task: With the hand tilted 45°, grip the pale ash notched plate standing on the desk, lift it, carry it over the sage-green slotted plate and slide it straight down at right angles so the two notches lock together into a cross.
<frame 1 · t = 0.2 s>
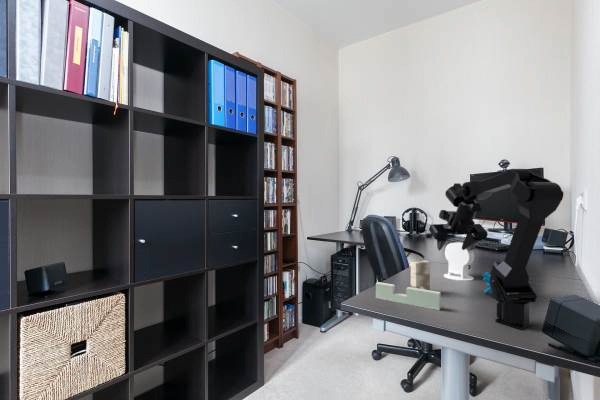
hand: (450, 249, 115), 15 cm above the table, tool tilted 35°, fingers open, 9 cm apart
white bracket stand: (458, 277, 133), on the table
sage slotted plate: (400, 301, 102), on the table
ash notched plate: (420, 292, 112), on the table
gear: (496, 296, 109), on the table
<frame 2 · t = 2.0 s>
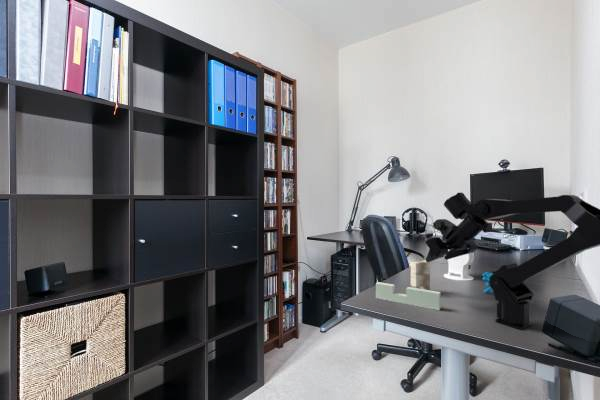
hand: (436, 259, 106), 13 cm above the table, tool tilted 45°, fingers open, 9 cm apart
nothing on the table moved.
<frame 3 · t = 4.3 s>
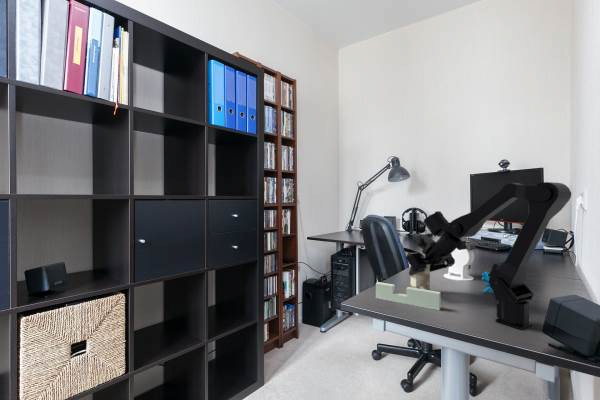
hand: (417, 273, 113), 7 cm above the table, tool tilted 45°, fingers closed on ash notched plate, 7 cm apart
ash notched plate: (420, 292, 112), on the table, touching gripper
everything else where it was.
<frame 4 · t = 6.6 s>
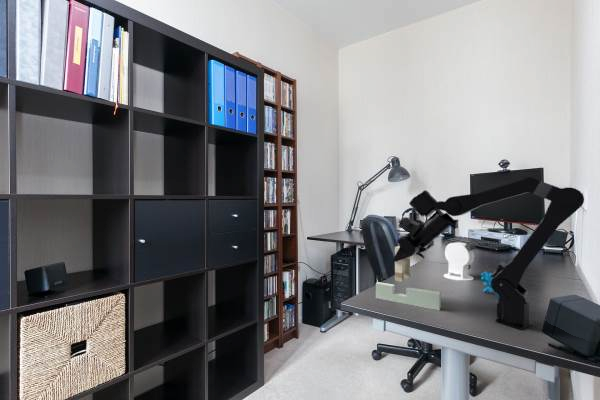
hand: (398, 258, 105), 13 cm above the table, tool tilted 45°, fingers closed on ash notched plate, 7 cm apart
ash notched plate: (402, 279, 104), point 7 cm above the table, touching gripper
everything else where it was.
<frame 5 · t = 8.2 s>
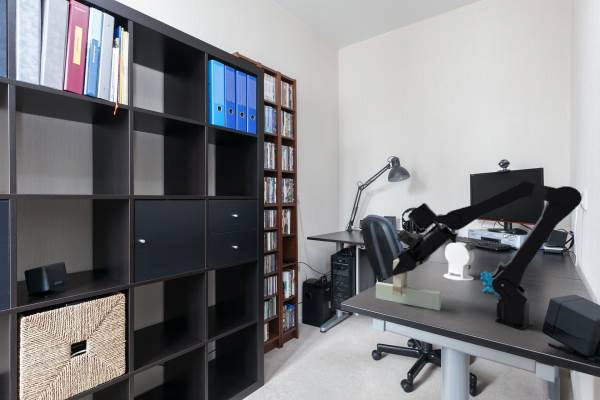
hand: (396, 272, 103), 9 cm above the table, tool tilted 45°, fingers closed on ash notched plate, 7 cm apart
ash notched plate: (400, 293, 102), point 3 cm above the table, touching gripper
everything else where it was.
when the fingers open (7 cm above the table, at t = 9.2 s): ash notched plate stays where it is, on the table.
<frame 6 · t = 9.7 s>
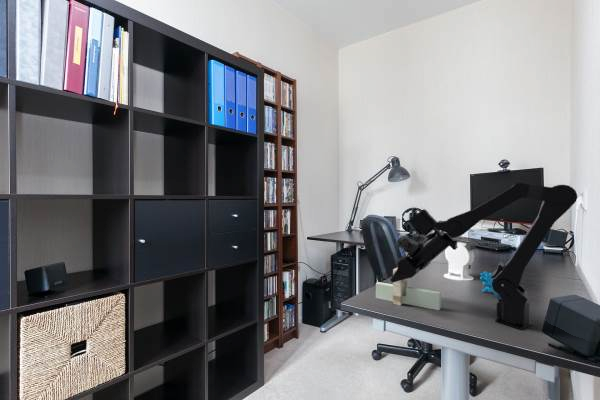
hand: (396, 278, 103), 8 cm above the table, tool tilted 45°, fingers open, 9 cm apart
ash notched plate: (400, 301, 102), on the table
everything else where it was.
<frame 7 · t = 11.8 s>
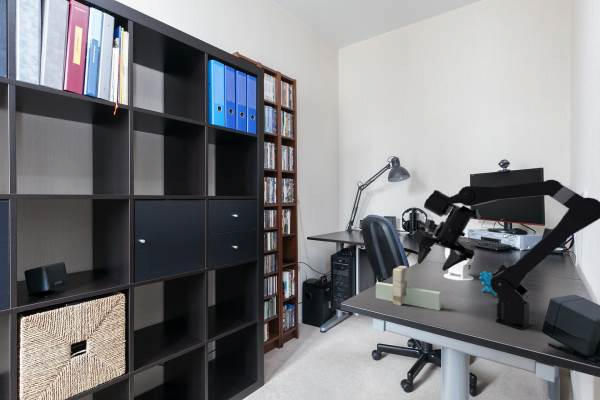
hand: (430, 266, 100), 12 cm above the table, tool tilted 25°, fingers open, 9 cm apart
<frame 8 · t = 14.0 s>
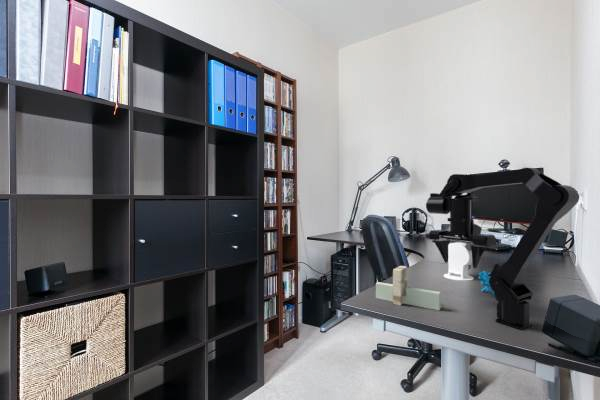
hand: (460, 265, 97), 13 cm above the table, tool pointing down, fingers open, 9 cm apart
at the end: ash notched plate 0.0 cm off-centre on the sage slotted plate, point 0.0 cm above the sage slotted plate's base; ash notched plate tilted 0°; the gripper is holding nothing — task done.
